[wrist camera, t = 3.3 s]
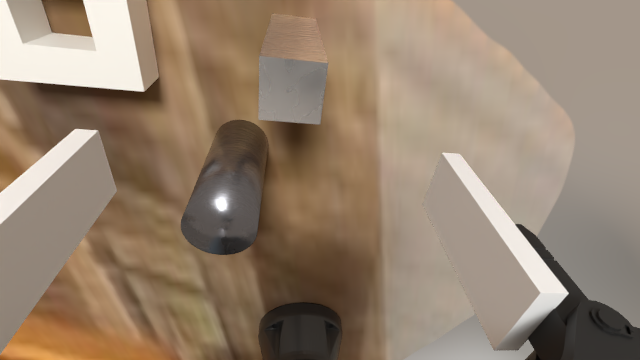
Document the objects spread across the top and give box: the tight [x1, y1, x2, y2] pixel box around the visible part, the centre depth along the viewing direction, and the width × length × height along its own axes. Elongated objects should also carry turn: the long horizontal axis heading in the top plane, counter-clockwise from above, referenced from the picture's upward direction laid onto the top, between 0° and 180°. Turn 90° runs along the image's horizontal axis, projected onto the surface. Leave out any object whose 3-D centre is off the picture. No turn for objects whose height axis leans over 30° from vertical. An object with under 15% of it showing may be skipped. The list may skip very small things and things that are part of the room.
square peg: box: [259, 13, 328, 125], centre depth 26 cm, size 4×4×14 cm
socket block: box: [0, 0, 159, 92], centre depth 27 cm, size 12×12×4 cm
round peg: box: [181, 120, 268, 255], centre depth 32 cm, size 6×6×14 cm
